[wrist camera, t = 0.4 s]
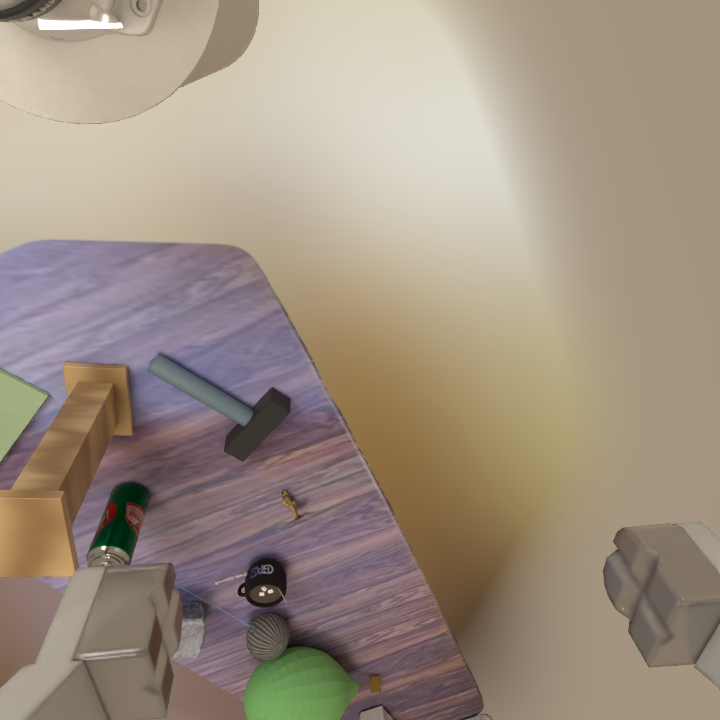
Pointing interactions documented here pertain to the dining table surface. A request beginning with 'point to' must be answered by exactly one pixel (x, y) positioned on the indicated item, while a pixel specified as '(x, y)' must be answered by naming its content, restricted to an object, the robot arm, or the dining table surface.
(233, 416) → the hammer
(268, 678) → the balloon
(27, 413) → the mat
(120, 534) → the soda can
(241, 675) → the dining table surface
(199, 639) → the rock
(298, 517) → the soldier figurine
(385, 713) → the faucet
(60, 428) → the stand
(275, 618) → the lollipop
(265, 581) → the mug
